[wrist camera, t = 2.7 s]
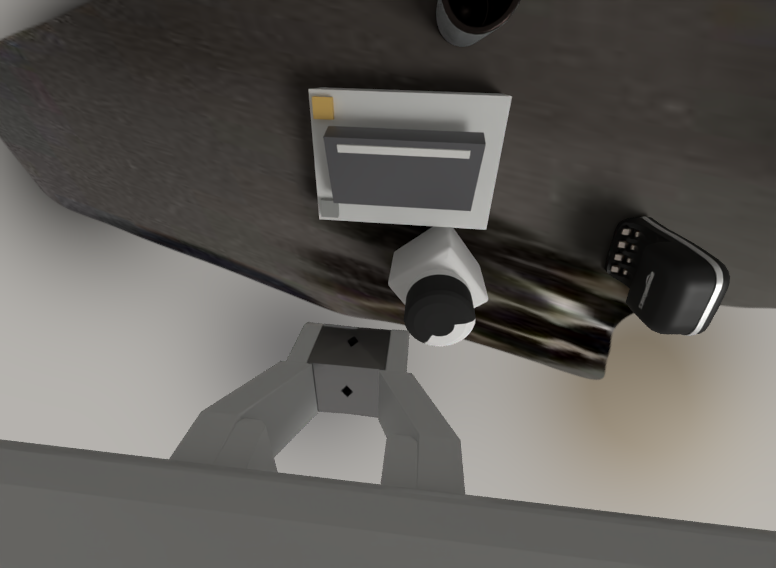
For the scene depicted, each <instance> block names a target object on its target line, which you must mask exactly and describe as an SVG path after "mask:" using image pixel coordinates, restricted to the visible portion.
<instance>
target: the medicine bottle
mask: <svg viewBox="0 0 776 568" xmlns="http://www.w3.org/2000/svg"><path fill="white" fill-rule="evenodd" d="M388 285H389V287H390V288H391V289H392V290H393V291H394V292H395V294H396V295H397V296H398V297H399V298H400V299H401V300H402V302H403V303H404V304H405V314H404V322H405V326H406V328H407V330H408V331H409V333H410V334H411V335H412V336H413V337H414V338H415V339H417V340H419V341H420V342H423V343H425V344H427V345H432V346H448V345H452V344H455V343H457V342H459V341H461V340H463V339H464V338H465V337H466V336H467V335H468V334H469V333H470V332H471V331H472V329H473V327H474V324H475V311H474V308H475V307H477V306H479V305H481V304H483V303H485V302H487V301H488V295H487V292H486V288H485V284H484V281H483V277H482V273H481V269H480V266H479V264H478V262H477V261H476V260H475V258H474V257H473V255H472V254H471V253H470V251H469V250H468V248H467V247H466V245H465V244H464V243H463V241H462V240H461V238H460V237H459V235H458V234H457V233H456V231H455V230H454V228H452V227H436V226H433V227H432V228H430V229H429V230H427V231H425V232H424V233H422V234H421V235H419V236H418V237H416V238H415V239H413V240H412V241H410V242H409V243H407V244H405V245H404V246H402V247H401V248H399V249H398V250H396V251H395V252H394V255H393V260H392V265H391V271H390V276H389V281H388Z"/></svg>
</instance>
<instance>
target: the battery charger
mask: <svg viewBox="0 0 776 568" xmlns="http://www.w3.org/2000/svg"><path fill="white" fill-rule="evenodd" d="M605 269H606V271H607V273H608V274H610V275H611V276H612V277H614V278H615V279H617V280H619V281H621V282H622V283H624V284H625V285H626V286H628V287H629V288H630V290H629V293H628V297H627V300H626V304H627V305H628V306H629V307H630V309H631V310H632V311H633V312H634V313H635V314H636V315H637V316H638V317H639V319H641V321H642V322H643V323H645V325H647V327H649V328H650V329H651V330H653V331H655V332H657V333H660V334H681V335H686V336H687V335H688V336H690V335H691V336H692V335H695V334H700V333H702V332H703V331H705V330H706V329H707V327H708V326H709V324H710V322H711V320H712V319H713V317H714V315H715V313H716V312H717V310H718V308H719V306H720V304H721V302H722V300H723V297H724V295H725V293H726V291H727V289H728V286H729V282H730V276H729V272H728V270H727V268H726V266H725V265H724V264H723V263H722V262H721V261H719V260H718V259H717V258H715V257H714V256H712V255H711V254H709V253H708V252H707V251H705V250H704V249H702V248H700V247H699V246H697V245H696V244H694V243H692V242H691V241H689V240H687V239H685V238H683V237H682V236H680V235H678V234H676V233H674V232H672V231H670V230H669V229H667V228H666V227H664V226H663V225H661V224H659V223H658V222H657V221H655V220H654V219H653V218H650V217H645V216H644V217H640V218H631V219H627V220H624V221H622V222H621V223H619V224H618V226H617V228H616V230H615V233H614V236H613V240H612V243H611V247H610V250H609V254H608V258H607V261H606V266H605Z"/></svg>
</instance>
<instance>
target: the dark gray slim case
mask: <svg viewBox="0 0 776 568" xmlns="http://www.w3.org/2000/svg"><path fill="white" fill-rule="evenodd" d="M323 138H324V145H325V151H326V158H327V164H328V171H329V177H330V184H331V190H332V196H333V203H340V204H357V205H374V206H391V207H408V208H425V209H442V210H458V211H471V208H472V203H473V199H474V194H475V190H476V186H477V181H478V177H479V172H480V168H481V163H482V159H483V154H484V150H485V146H486V143H485V137H484V132H461V131H437V130H414V129H391V128H368V127H345V126H328V128H327V130H326V132H325V134H324V136H323Z"/></svg>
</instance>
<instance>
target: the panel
mask: <svg viewBox="0 0 776 568" xmlns="http://www.w3.org/2000/svg"><path fill="white" fill-rule="evenodd" d="M308 91H309V102H310V114H311V126H312V138H313V149H314V161H315V173H316V185H317V196H318V208H319V219H325V220H341V221H356V222H372V223H388V224H404V225H420V226H436V227H452V228H468V229H484V230H486V227H487V222H488V217H489V212H490V207H491V202H492V196H493V191H494V186H495V181H496V176H497V171H498V165H499V160H500V155H501V150H502V145H503V140H504V134H505V129H506V124H507V119H508V114H509V109H510V103H511V98H512V96H509V95H505V94H498V93H469V92H441V91H412V90H384V89H355V88H327V87H320V88H312V89H308ZM328 126H345V127H368V128H391V129H414V130H437V131H461V132H484V137H485V143H486V146H485V150H484V154H483V159H482V163H481V168H480V172H479V177H478V181H477V186H476V190H475V194H474V199H473V203H472V208H471V211H458V210H442V209H425V208H408V207H391V206H374V205H357V204H340V203H333V196H332V190H331V184H330V177H329V171H328V164H327V158H326V151H325V145H324V138H323V136H324V134H325V132H326V130H327V128H328Z"/></svg>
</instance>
